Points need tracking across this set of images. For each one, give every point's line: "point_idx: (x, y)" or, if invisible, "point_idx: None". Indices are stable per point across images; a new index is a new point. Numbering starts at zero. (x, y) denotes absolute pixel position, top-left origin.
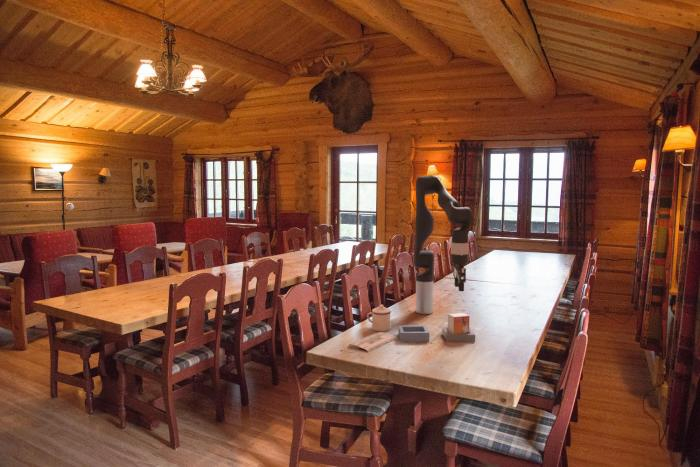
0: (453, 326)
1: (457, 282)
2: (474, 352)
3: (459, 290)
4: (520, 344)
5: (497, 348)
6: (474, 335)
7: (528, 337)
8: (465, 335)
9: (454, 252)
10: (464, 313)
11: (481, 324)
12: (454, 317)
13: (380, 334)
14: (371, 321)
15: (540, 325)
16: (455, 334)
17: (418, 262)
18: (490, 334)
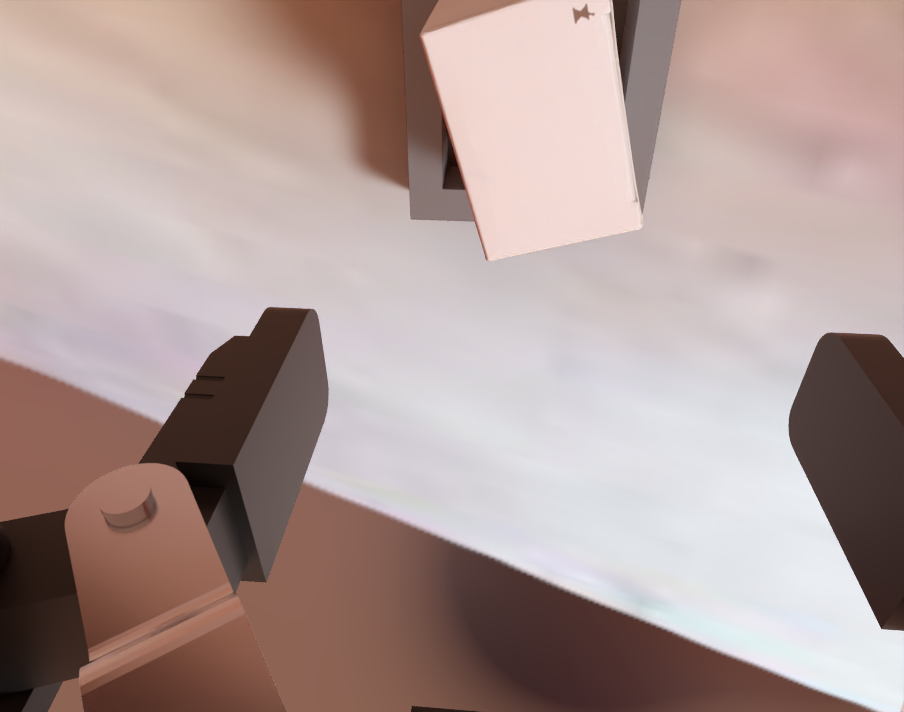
0: (435, 7)
1: (853, 473)
2: (141, 113)
3: (266, 320)
4: (365, 451)
5: (269, 306)
6: (411, 208)
7: (496, 524)
8: (408, 123)
9: None
10: (596, 231)
11: None
12: (423, 43)
13: None
14: None
15: (705, 636)
16: (412, 14)
17: None
18: (583, 352)
